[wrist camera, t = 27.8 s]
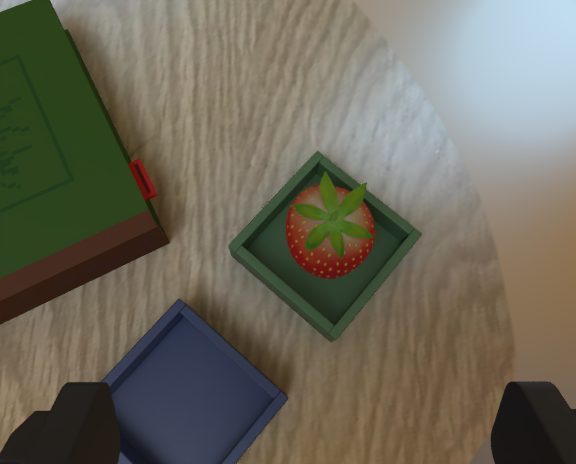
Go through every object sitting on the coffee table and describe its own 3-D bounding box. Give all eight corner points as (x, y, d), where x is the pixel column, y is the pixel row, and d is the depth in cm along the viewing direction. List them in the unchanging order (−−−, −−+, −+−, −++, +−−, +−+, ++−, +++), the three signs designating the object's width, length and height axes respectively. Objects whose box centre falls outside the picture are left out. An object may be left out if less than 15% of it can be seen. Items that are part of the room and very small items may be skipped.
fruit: (376, 253, 32) (410, 216, 25) (319, 304, 31) (335, 282, 24) (322, 195, 33) (338, 142, 26) (264, 243, 32) (263, 202, 25)
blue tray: (287, 396, 30) (288, 398, 28) (189, 515, 28) (181, 529, 26) (186, 303, 31) (178, 298, 29) (85, 411, 29) (68, 415, 27)
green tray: (411, 244, 33) (422, 233, 31) (330, 342, 31) (336, 339, 29) (313, 166, 35) (317, 150, 32) (230, 255, 32) (227, 245, 30)
